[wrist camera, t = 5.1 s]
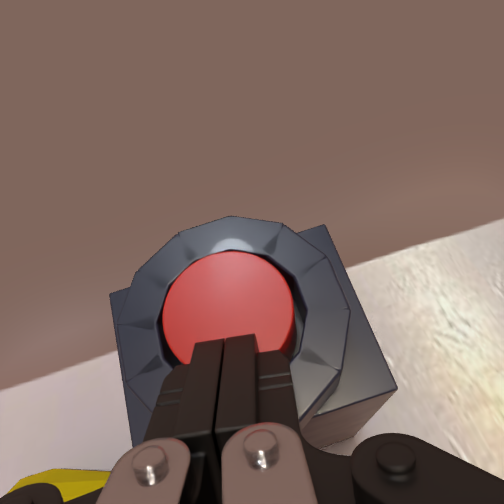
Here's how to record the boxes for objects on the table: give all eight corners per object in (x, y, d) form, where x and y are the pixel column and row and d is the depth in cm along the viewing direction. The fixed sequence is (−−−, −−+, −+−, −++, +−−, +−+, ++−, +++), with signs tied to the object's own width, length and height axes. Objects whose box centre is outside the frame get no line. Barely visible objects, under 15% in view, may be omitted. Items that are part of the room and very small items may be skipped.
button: (276, 268, 15) (269, 234, 13) (313, 371, 13) (313, 351, 11) (173, 301, 15) (150, 273, 13) (198, 410, 13) (176, 396, 11)
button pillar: (318, 340, 30) (323, 184, 14) (356, 440, 27) (417, 385, 11) (204, 378, 30) (81, 262, 14) (230, 483, 27) (109, 488, 11)
